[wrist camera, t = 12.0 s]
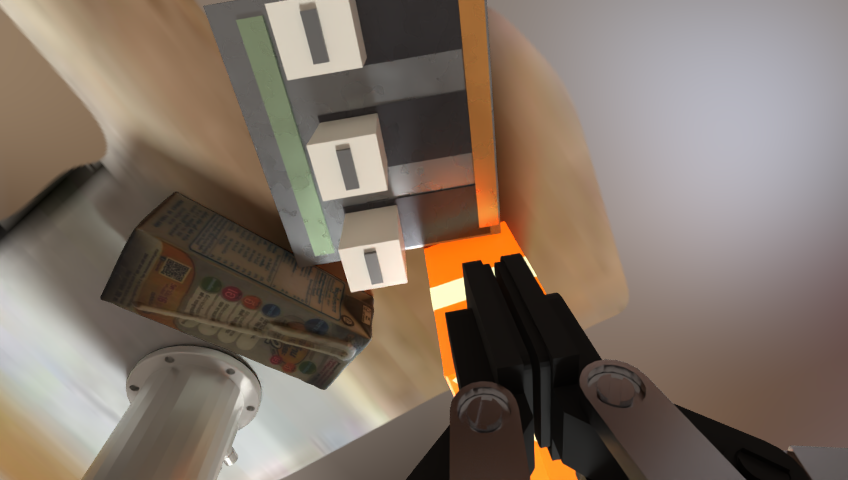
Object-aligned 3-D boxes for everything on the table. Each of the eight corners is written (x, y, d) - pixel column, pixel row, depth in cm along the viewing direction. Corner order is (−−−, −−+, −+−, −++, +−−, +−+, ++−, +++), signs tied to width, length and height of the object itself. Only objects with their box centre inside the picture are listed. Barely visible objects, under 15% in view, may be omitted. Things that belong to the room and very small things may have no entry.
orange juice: (451, 319, 40) (502, 552, 23) (422, 248, 36) (456, 469, 19) (527, 294, 39) (639, 516, 22) (506, 219, 35) (624, 420, 18)
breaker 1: (367, 57, 26) (362, 68, 21) (305, 68, 26) (286, 81, 21) (354, -6, 24) (346, -11, 19) (288, 5, 24) (262, 3, 19)
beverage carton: (332, 347, 41) (323, 402, 35) (136, 255, 34) (85, 304, 29) (377, 295, 38) (375, 345, 33) (173, 184, 32) (125, 221, 26)
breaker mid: (387, 161, 29) (387, 192, 24) (333, 170, 29) (322, 203, 24) (377, 112, 28) (375, 135, 23) (320, 122, 28) (305, 146, 23)
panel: (495, 222, 35) (502, 235, 33) (303, 255, 35) (298, 269, 33) (477, -39, 26) (484, -44, 24) (215, 6, 26) (201, 5, 24)
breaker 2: (404, 243, 33) (407, 285, 28) (355, 251, 33) (350, 295, 28) (396, 204, 31) (398, 241, 26) (345, 213, 31) (337, 252, 26)
